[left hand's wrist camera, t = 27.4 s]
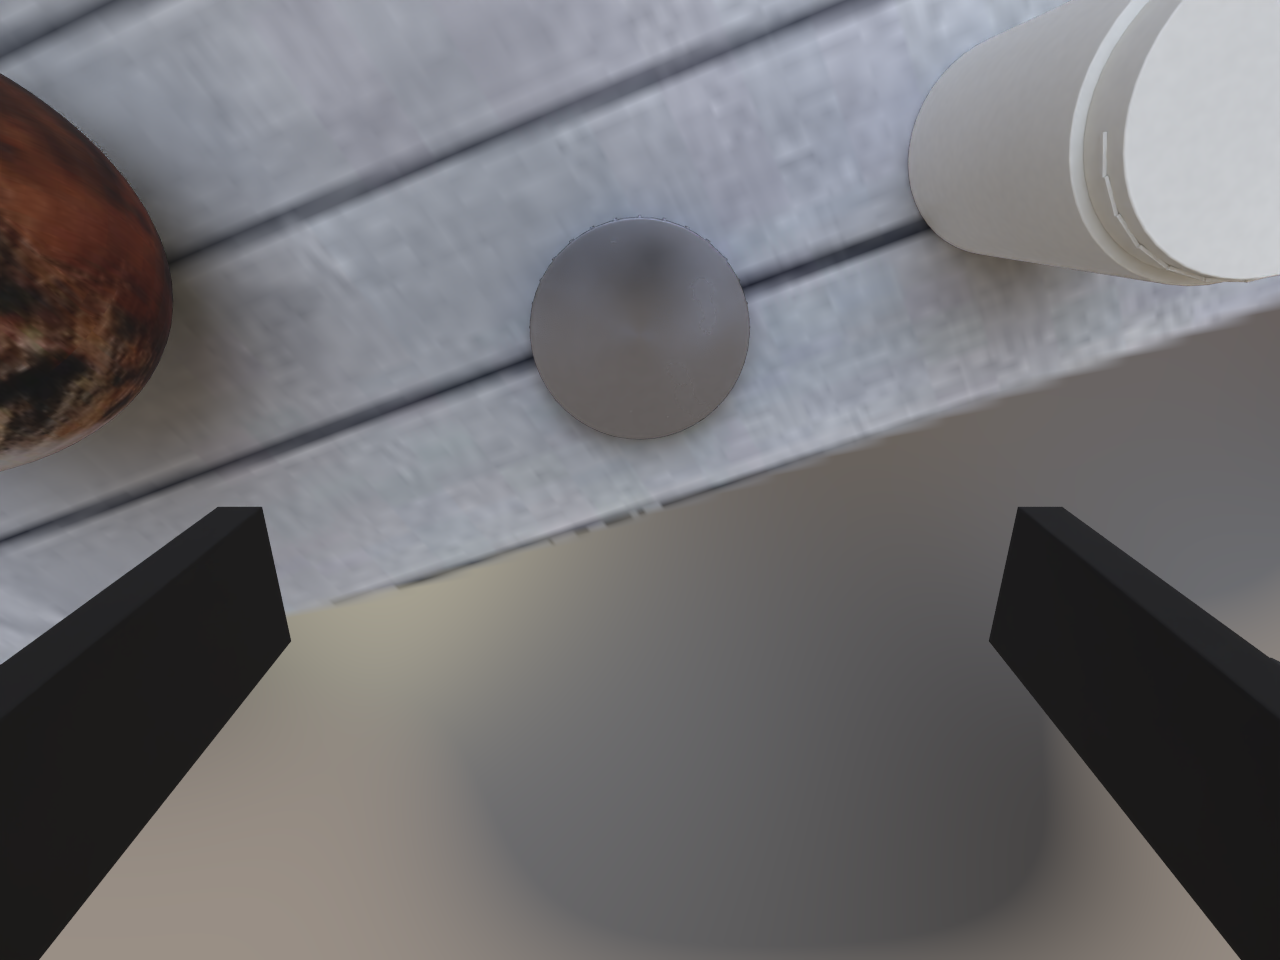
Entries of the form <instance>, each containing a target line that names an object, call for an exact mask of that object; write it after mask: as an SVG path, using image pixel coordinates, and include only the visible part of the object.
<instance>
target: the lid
mask: <svg viewBox="0 0 1280 960" xmlns="http://www.w3.org/2000/svg"><path fill="white" fill-rule="evenodd" d="M590 229H591V230H589V231H587V232H585V233H583V234H582V235H580V236H579V237H577V238H576V239H575V240H574V239H572V240H570V241H569V242H570V243H569V244H568V245H567V246H566V247H565V248H564V249H563V250H562V251H561V252H560V253H559V254H558V255H557V256H556V257H554V258H553V259H552V260H553V262H552V263H551V264H550V265H549V267H548V269H547V270H546V272H545V274H544V275H543V277H542V278H541V279H540V284H539V286H538V288H537V291H536V293H535V297H534V301H533V302H532V304H533V305H532V310H531V318H530V339H531V347H532V352H533V356H534V360H535V364H536V366H537V369H538V371H539V374H540V376H541V378H542V380H543V382H544V383H545V385H546V387H547V389H548V390H549V392H550V393H551V394H552V396H553V397H554V398H555V400H556V401H557V402H558V403H559V404H560V405H561V406H562V407H563V408H564V409H565V410H566V411H567V412H568V413H570V414H571V415H572V416H573V417H575V418H576V419H577V420H579V421H580V422H582V423H584V424H585V425H587V426H589V427H591V428H593V429H595V430H597V431H599V432H602V433H605V434H609V435H612V436H616V437H621V438H627V439H652V438H658V437H663V436H668V435H671V434H674V433H677V432H680V431H682V430H685V429H687V428H689V427H691V426H693V425H694V424H696V423H698V422H699V421H701V420H702V419H704V418H705V417H706V416H708V415H709V414H710V413H711V412H712V411H714V410H715V409H716V408H717V407H718V406H719V405H720V403H721V402H722V401H723V400H724V399H725V398H726V396H727V395H728V394H729V392H730V391H731V389H732V388H733V386H734V384H735V383H736V381H737V379H738V377H739V375H740V373H741V370H742V367H743V365H744V362H745V358H746V354H747V351H748V344H749V335H750V326H749V313H748V307H747V304H748V303H747V302H746V299H745V295H744V292H743V289H742V287H741V285H740V282H739V281H740V279H739V278H737V276H736V274H735V273H734V271H733V269H732V268H731V266H730V264H729V263H728V262H727V258H726V257H724V256H722V255H721V253H720V252H719V251H718V250H717V249H715V248H714V247H713V246H712V245H711V244H710V241H709V240H708V239H703V238H702V237H701V236H699V235H698V234H696V233H695V232H693V231H691V230H689V227H687V226H685V227H683V226H681V225H679V224H676V223H673V222H670V221H667V220H666V219H665V218H663V219H657V218H651V217H641V215H639V217H630V218H622V219H617V218H614V220H613V221H609V222H607V223H604V224H601V225H599V226H596V227H594V226H592V227H590Z"/></svg>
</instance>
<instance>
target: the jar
mask: <svg viewBox="0 0 1280 960" xmlns="http://www.w3.org/2000/svg"><path fill="white" fill-rule="evenodd" d="M908 170H909V180H910V186H911V191H912V194H913V197H914V200H915V203H916V205H917V207H918V209H919V211H920V214H921V215H922V217H923V218H924V220H925V221H926V223H927V224H928V225H929V226H930V227H931V229H932V230H933V231H934V232H935V233H936V234H937V235H938V236H940V237H941V238H942V239H943V240H945V241H946V242H948V243H950V244H951V245H953V246H955V247H957V248H959V249H962V250H965V251H967V252H972V253H976V254H981V255H987V256H993V257H1000V258H1006V259H1012V260H1018V261H1025V262H1031V263H1037V264H1043V265H1050V266H1056V267H1062V268H1068V269H1075V270H1081V271H1087V272H1093V273H1100V274H1106V275H1112V276H1118V277H1125V278H1131V279H1137V280H1143V281H1150V282H1156V283H1162V284H1168V285H1181V286H1197V285H1210V284H1215V283H1221V282H1251V281H1255V280H1258V279H1262V278H1267V277H1272V276H1278V275H1280V0H1072V1H1070V2H1067V3H1065V4H1063V5H1061V6H1059V7H1057V8H1054V9H1052V10H1050V11H1048V12H1046V13H1044V14H1041V15H1039V16H1037V17H1035V18H1033V19H1031V20H1028V21H1026V22H1024V23H1022V24H1020V25H1018V26H1015V27H1013V28H1011V29H1009V30H1007V31H1005V32H1002V33H1000V34H998V35H996V36H994V37H992V38H990V39H988V40H986V41H984V42H982V43H980V44H978V45H976V46H975V47H973V48H972V49H970V50H969V51H967V52H966V53H964V54H963V55H962V56H961V57H960V58H958V59H957V60H956V61H955V62H954V63H953V64H952V65H951V66H950V67H949V68H948V69H947V70H946V71H945V72H944V73H943V74H942V75H941V77H940V78H939V79H938V81H937V82H936V83H935V85H934V86H933V87H932V89H931V90H930V92H929V94H928V96H927V97H926V99H925V101H924V103H923V105H922V107H921V109H920V111H919V114H918V116H917V119H916V122H915V125H914V128H913V131H912V136H911V141H910V146H909V157H908Z"/></svg>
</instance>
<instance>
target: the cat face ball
mask: <svg viewBox="0 0 1280 960" xmlns="http://www.w3.org/2000/svg"><path fill="white" fill-rule="evenodd" d="M172 311H173V294H172V281H171V276H170V270H169V265H168V261H167V257H166V254H165V251H164V248H163V245H162V242H161V239H160V237H159V235H158V233H157V231H156V229H155V227H154V225H153V223H152V221H151V219H150V217H149V215H148V213H147V211H146V209H145V207H144V206H143V204H142V203H141V201H140V200H139V198H138V197H137V195H136V194H135V192H134V191H133V189H132V188H131V186H130V185H129V184H128V182H127V181H126V179H125V178H124V177H123V176H122V175H121V173H120V172H119V171H118V170H117V169H116V167H115V166H114V165H113V164H112V163H111V162H110V161H109V160H108V158H107V157H106V156H105V155H104V154H103V153H102V152H101V151H100V150H99V149H98V148H97V147H96V146H95V145H94V144H93V143H92V142H91V141H90V140H89V139H88V138H87V137H86V136H85V135H84V134H83V133H81V132H80V131H79V130H78V129H77V128H76V127H75V126H73V125H72V124H71V123H70V122H69V121H68V120H66V119H65V118H64V117H63V116H61V115H60V114H59V113H58V112H56V111H55V110H54V109H53V108H51V107H50V106H49V105H47V104H46V103H44V102H43V101H42V100H40V99H39V98H37V97H36V96H35V95H33V94H32V93H30V92H29V91H27V90H26V89H24V88H23V87H21V86H20V85H18V84H17V83H15V82H14V81H12V80H10V79H9V78H7V77H5V76H4V75H2V74H0V471H4V470H7V469H11V468H14V467H17V466H21V465H24V464H27V463H30V462H33V461H36V460H39V459H41V458H44V457H46V456H49V455H51V454H54V453H56V452H58V451H60V450H62V449H64V448H66V447H68V446H71V445H73V444H75V443H77V442H78V441H80V440H82V439H83V438H85V437H87V436H88V435H90V434H92V433H93V432H95V431H96V430H98V429H99V428H101V427H102V426H103V425H105V424H106V423H108V422H109V421H110V420H112V419H113V418H114V417H115V416H116V415H117V414H119V413H120V412H121V411H122V410H123V409H124V408H125V407H127V405H128V404H129V403H130V402H131V401H132V400H133V399H134V398H135V397H136V396H137V395H138V394H139V393H140V391H141V390H142V388H143V387H144V386H145V384H146V383H147V382H148V380H149V379H150V377H151V376H152V374H153V372H154V370H155V369H156V367H157V365H158V363H159V361H160V358H161V356H162V353H163V351H164V348H165V346H166V343H167V340H168V336H169V332H170V328H171V321H172Z"/></svg>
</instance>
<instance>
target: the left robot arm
mask: <svg viewBox="0 0 1280 960" xmlns="http://www.w3.org/2000/svg"><path fill="white" fill-rule="evenodd" d="M290 642H291V638H290V634H289V629H288V625H287V620H286V615H285V611H284V606H283V602H282V597H281V592H280V588H279V583H278V578H277V574H276V569H275V565H274V560H273V555H272V551H271V546H270V542H269V537H268V532H267V528H266V523H265V518H264V514H263V509H262V507H217V508H216V509H214V510H213V511H212V512H210V513H209V514H207V515H206V516H205V517H203V518H202V519H201V520H199V521H198V522H196V523H195V524H194V525H192V526H191V527H190V528H188V529H187V530H185V531H184V532H183V533H181V534H180V535H179V536H177V537H176V538H174V539H173V540H172V541H170V542H169V543H168V544H166V545H165V546H163V547H162V548H161V549H159V550H158V551H157V552H155V553H154V554H152V555H151V556H150V557H148V558H147V559H146V560H144V561H143V562H141V563H140V564H139V565H137V566H136V567H135V568H133V569H132V570H130V571H129V572H128V573H126V574H125V575H124V576H122V577H121V578H119V579H118V580H117V581H115V582H114V583H113V584H111V585H110V586H108V587H107V588H106V589H104V590H103V591H102V592H100V593H99V594H97V595H96V596H95V597H93V598H92V599H91V600H89V601H88V602H86V603H85V604H84V605H82V606H81V607H80V608H78V609H77V610H75V611H74V612H73V613H71V614H70V615H69V616H67V617H66V618H64V619H63V620H62V621H60V622H59V623H58V624H56V625H55V626H53V627H52V628H51V629H49V630H48V631H47V632H45V633H44V634H42V635H41V636H40V637H38V638H37V639H36V640H34V641H33V642H31V643H30V644H29V645H27V646H26V647H25V648H23V649H22V650H20V651H19V652H18V653H16V654H15V655H14V656H12V657H11V658H9V659H8V660H7V661H5V662H4V663H3V664H1V665H0V960H39V959H40V958H41V957H42V955H43V954H44V953H45V952H46V950H47V949H48V948H49V946H50V945H51V944H52V943H53V941H54V940H55V939H56V938H57V936H58V935H59V934H60V933H61V931H62V930H63V929H64V927H65V926H66V925H67V924H68V922H69V921H70V920H71V919H72V917H73V916H74V915H75V914H76V912H77V911H78V910H79V909H80V907H81V906H82V905H83V903H84V902H85V901H86V900H87V898H88V897H89V896H90V895H91V893H92V892H93V891H94V890H95V888H96V887H97V886H98V885H99V883H100V882H101V881H102V879H103V878H104V877H105V876H106V874H107V873H108V872H109V871H110V869H111V868H112V867H113V866H114V864H115V863H116V862H117V860H118V859H119V858H120V857H121V855H122V854H123V853H124V852H125V850H126V849H127V848H128V847H129V845H130V844H131V843H132V841H133V840H134V839H135V838H136V837H137V835H138V834H139V833H140V831H141V830H142V829H143V828H144V826H145V825H146V824H147V823H148V821H149V820H150V819H151V817H152V816H153V815H154V814H155V812H156V811H157V810H158V809H159V807H160V806H161V805H162V804H163V802H164V801H165V800H166V799H167V797H168V796H169V795H170V793H171V792H172V791H173V790H174V788H175V787H176V786H177V785H178V783H179V782H180V781H181V780H182V778H183V777H184V776H185V775H186V773H187V772H188V771H189V769H190V768H191V767H192V766H193V764H194V763H195V762H196V761H197V759H198V758H199V757H200V756H201V754H202V753H203V752H204V750H205V749H206V748H207V747H208V745H209V744H210V743H211V742H212V740H213V739H214V738H215V737H216V735H217V734H218V733H219V732H220V730H221V729H222V728H223V727H224V725H225V724H226V723H227V721H228V720H229V719H230V718H231V716H232V715H233V714H234V713H235V711H236V710H237V709H238V708H239V706H240V705H241V704H242V702H243V701H244V700H245V699H246V697H247V696H248V695H249V694H250V692H251V691H252V690H253V689H254V687H255V686H256V685H257V683H258V682H259V681H260V680H261V678H262V677H263V676H264V675H265V673H266V672H267V671H268V670H269V668H270V667H271V666H272V665H273V663H274V662H275V661H276V660H277V658H278V657H279V656H280V654H281V653H282V652H283V651H284V649H285V648H286V647H287V646H288V644H289V643H290ZM989 642H990V643H991V644H992V646H993V647H994V648H995V649H996V651H997V652H998V653H999V654H1000V656H1001V657H1002V658H1003V660H1004V661H1005V662H1006V663H1007V665H1008V666H1009V667H1010V668H1011V670H1012V671H1013V672H1014V673H1015V675H1016V676H1017V677H1018V678H1019V680H1020V681H1021V682H1022V683H1023V685H1024V686H1025V687H1026V689H1027V690H1028V691H1029V692H1030V694H1031V695H1032V696H1033V697H1034V699H1035V700H1036V701H1037V702H1038V704H1039V705H1040V706H1041V708H1042V709H1043V710H1044V711H1045V713H1046V714H1047V715H1048V716H1049V718H1050V719H1051V720H1052V721H1053V723H1054V724H1055V725H1056V727H1057V728H1058V729H1059V730H1060V731H1061V733H1062V734H1063V735H1064V737H1065V738H1066V739H1067V740H1068V742H1069V743H1070V744H1071V745H1072V747H1073V748H1074V749H1075V750H1076V752H1077V753H1078V754H1079V756H1080V757H1081V758H1082V759H1083V761H1084V762H1085V763H1086V764H1087V766H1088V767H1089V768H1090V769H1091V771H1092V772H1093V773H1094V775H1095V776H1096V777H1097V778H1098V780H1099V781H1100V782H1101V783H1102V785H1103V786H1104V787H1105V788H1106V790H1107V791H1108V792H1109V793H1110V795H1111V796H1112V797H1113V799H1114V800H1115V801H1116V802H1117V804H1118V805H1119V806H1120V807H1121V809H1122V810H1123V811H1124V812H1125V814H1126V815H1127V816H1128V818H1129V819H1130V820H1131V821H1132V823H1133V824H1134V825H1135V826H1136V828H1137V829H1138V830H1139V831H1140V833H1141V834H1142V835H1143V836H1144V838H1145V839H1146V840H1147V842H1148V843H1149V844H1150V845H1151V847H1152V848H1153V849H1154V850H1155V852H1156V853H1157V854H1158V855H1159V857H1160V858H1161V859H1162V861H1163V862H1164V863H1165V864H1166V866H1167V867H1168V868H1169V869H1170V871H1171V872H1172V873H1173V874H1174V876H1175V877H1176V878H1177V879H1178V881H1179V882H1180V883H1181V885H1182V886H1183V887H1184V888H1185V890H1186V891H1187V892H1188V893H1189V895H1190V896H1191V897H1192V898H1193V900H1194V901H1195V902H1196V903H1197V905H1198V906H1199V907H1200V909H1201V910H1202V911H1203V912H1204V914H1205V915H1206V916H1207V917H1208V919H1209V920H1210V921H1211V922H1212V924H1213V925H1214V926H1215V928H1216V929H1217V930H1218V931H1219V933H1220V934H1221V935H1222V936H1223V938H1224V939H1225V940H1226V941H1227V943H1228V944H1229V945H1230V946H1231V948H1232V949H1233V950H1234V952H1235V953H1236V954H1237V955H1238V957H1239V958H1240V959H1241V960H1280V662H1279V661H1277V660H1275V659H1273V658H1269V657H1268V656H1266V655H1265V654H1264V653H1262V652H1261V651H1260V650H1258V649H1257V648H1255V647H1254V646H1253V645H1251V644H1250V643H1248V642H1247V641H1246V640H1244V639H1243V638H1242V637H1240V636H1239V635H1238V634H1236V633H1235V632H1233V631H1232V630H1231V629H1229V628H1228V627H1227V626H1225V625H1224V624H1222V623H1221V622H1220V621H1218V620H1217V619H1215V618H1214V617H1213V616H1211V615H1210V614H1209V613H1207V612H1206V611H1205V610H1203V609H1202V608H1200V607H1199V606H1198V605H1196V604H1195V603H1193V602H1192V601H1191V600H1189V599H1188V598H1187V597H1185V596H1184V595H1182V594H1181V593H1180V592H1178V591H1177V590H1176V589H1174V588H1173V587H1171V586H1170V585H1169V584H1167V583H1166V582H1165V581H1163V580H1162V579H1161V578H1159V577H1158V576H1156V575H1155V574H1154V573H1152V572H1151V571H1150V570H1148V569H1147V568H1145V567H1144V566H1143V565H1141V564H1140V563H1139V562H1137V561H1136V560H1134V559H1133V558H1132V557H1130V556H1129V555H1128V554H1126V553H1125V552H1123V551H1122V550H1121V549H1119V548H1118V547H1117V546H1115V545H1114V544H1112V543H1111V542H1110V541H1108V540H1107V539H1106V538H1104V537H1103V536H1101V535H1100V534H1099V533H1097V532H1096V531H1095V530H1093V529H1092V528H1090V527H1089V526H1088V525H1086V524H1085V523H1084V522H1082V521H1081V520H1079V519H1078V518H1077V517H1075V516H1074V515H1072V514H1071V513H1070V512H1068V511H1067V510H1066V509H1064V508H1063V507H1018V509H1017V514H1016V519H1015V523H1014V528H1013V532H1012V537H1011V542H1010V546H1009V551H1008V555H1007V560H1006V565H1005V569H1004V574H1003V579H1002V583H1001V588H1000V592H999V597H998V602H997V606H996V611H995V615H994V620H993V625H992V629H991V634H990V639H989Z"/></svg>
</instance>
